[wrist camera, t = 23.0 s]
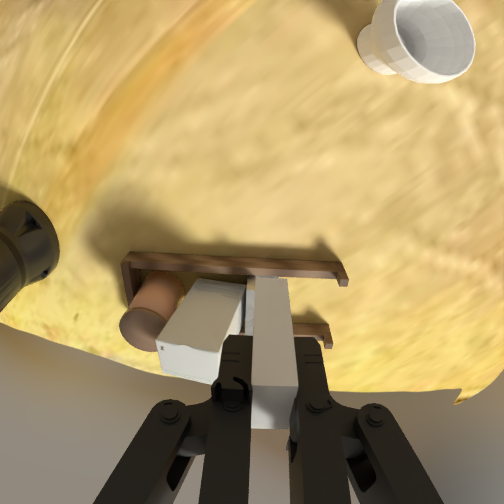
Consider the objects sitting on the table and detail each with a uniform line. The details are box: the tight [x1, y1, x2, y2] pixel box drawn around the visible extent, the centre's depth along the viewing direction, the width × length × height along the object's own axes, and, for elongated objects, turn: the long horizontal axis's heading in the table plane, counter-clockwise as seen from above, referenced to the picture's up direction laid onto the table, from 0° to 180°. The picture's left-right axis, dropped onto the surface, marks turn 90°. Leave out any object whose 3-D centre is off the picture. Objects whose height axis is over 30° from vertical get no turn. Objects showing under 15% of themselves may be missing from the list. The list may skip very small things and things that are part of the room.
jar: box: [119, 271, 184, 352], centre depth 46 cm, size 7×7×11 cm
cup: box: [357, 0, 475, 83], centre depth 27 cm, size 11×11×15 cm
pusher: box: [245, 275, 278, 336], centre depth 48 cm, size 5×10×6 cm, turn 178°
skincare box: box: [155, 278, 247, 385], centre depth 44 cm, size 8×7×16 cm
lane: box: [121, 252, 349, 349], centre depth 49 cm, size 33×13×5 cm, turn 88°
